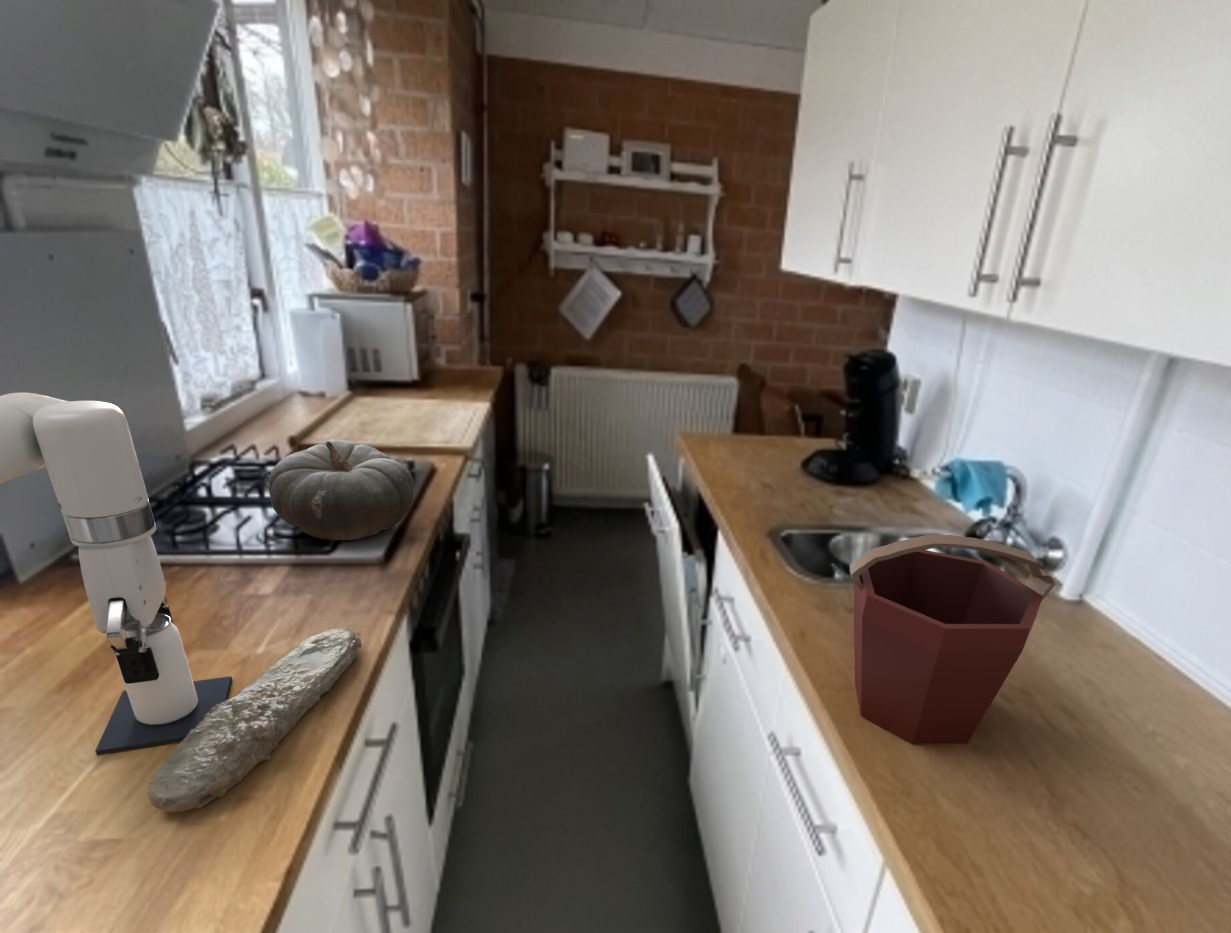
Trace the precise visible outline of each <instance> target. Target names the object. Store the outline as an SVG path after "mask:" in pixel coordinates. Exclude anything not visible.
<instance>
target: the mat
mask: <svg viewBox="0 0 1231 933" xmlns="http://www.w3.org/2000/svg"><path fill="white" fill-rule="evenodd" d="M232 677H233V676H231V675H229V676H222V677H214V678H208V679H207V678H206V679H200V680H193V683H194V687H195V691H196V694H197V698H198V703H197V706H196V707H195V709H194V710H193V711H192V712H191V713H190V714H189V715H187V716H186V717H184V718H182V719H180V720H178V721H176V722H173V723H169V724H165V725H147V724H144V723H142V722H139V721H138V720H137V719H136V717H135V714H134V712H133V709H132V706H131V703H130V700H129V697H128V694H127V691H126V690H122V692H121V694H120V696H119V698H118V700H117V703H116V704H115V707H114V709H113V711H112V713H111V716H110V718H109V720H108V722H107V725H106V726H105V729H104V730H103V733H102V735H101V738H100V740H99V742H98V744H97V746H96V749H95V750H94V751H95V755H96V756H99V755H105V754H111V753H112V754H113V753H119V752H125V751H131V750H137V749H143V748H148V747H156V746H162V745H168V744H174V743H180V742H181V741H182V740H183V739H184V738H185V737H186V736H187V734H189V732H190V730H191V729H194V728H195V727H196V726H197V725H198V724H199V722H201V721H202V720H203V717H204V716H205V715H206V714H207V713H208V712H209V711H210V710H211V708H212V707H214V706H216V705H217V704H220V703H222V702H223V701H225V700H227V699H229V695H230V690H231V686H232V682H233V678H232Z"/></svg>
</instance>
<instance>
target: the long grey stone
mask: <svg viewBox="0 0 1231 933" xmlns="http://www.w3.org/2000/svg"><path fill="white" fill-rule="evenodd" d="M359 648H363V644H362V640H361V638H359V637H356V632H354V631H352V630H350V629H349V628H348V627H343V628H339V627H336V628H330V629H328V630H326V631H323V632H320V633H317V634H314V635H312V636H309V637H307V638H306V639H304V640H302V641H301V642H300V643H298V645H297V646H296V647H295V648H294V649H293V650H291V651H289V653H287V654H285V656H282V657H281V658H280V659H278V660H277V661H276V662H274V663H273V664H272V665H270V666H269V667H268V668H267V669H266V670H265V672H263V673H262V674H261V675H260V676H259V677H257V678H256V679H254V680H253V681H252V682H250V683H249V684H247V686H245V687H243V688H241V689H240V690H238V692H236V694H235V695H234V696H233V697H231V698H228V699H227V700H225V701H223V702H222V703H220V704H217V705H216V706H214V707H212V708H211V710H210V711H209V712H208V713H207V714H206V715H205V716H204V717H203V720H202V721H201V722H199V724H198V725H197V726H196V727H195V728H194V729H191V730H190V732H189V734H187V736H186V737H185V738H184V739H183V740H182V741H181V742H179V744H178V745H177V746H176V747H175V749H174V750H173V749H172V751H171V752H170V753H168V755H166V756H165V761H164V762H163V763H162V765H161V766H160V767H159V768H158V769H157V771H156V772H155V774H154V776H153V777H152V778H151V780H150V781H149V783H148V784H149V786H148V793H147V796H148V798H149V801H150V802H151V805H152V806H153V807H155V808H156V809H157V810H161V811H164V812H168V813H176V812H185V811H188V810H192V809H200V808H203V806H204V805H207V804H209V802H211V801H213V800H214V799H215V798H217V797H218V798H221V797H223V796H224V795H226V793H227V791H228V790H230V789H231V788H232V787H233V786H235V785H236V784H237V783H239V782H241V781H242V780H243V779H244V778H245V777H246V776H247V775H248V773H249V772H250V771H252V770H253V769H254V767H255V766H256V765H258V763H262V762H266V761H269V760H271V752H273V751H274V750H275V749H277V748H278V746H279V745H278V744H279V742H280V741H281V740H282V739H283V738H285V736H287V734H288V733H290V732H291V730H292V729H294V728H295V726H297V724H298V723H299V720H301V718H302V716H303V715H305V713H306V712H307V711H308V710H309V709H311V708H312V707H313V706H314V705H316V703H318V702H319V701H321V696H322V695H323V694H324V693H327V692H329V691H330V690H331V688H332V686H333V685H334V684H335V683H336V681H337V680H339V678H340V676H341V675H342V674H343V673H344V672H346V670H347V669H348V668H349V667H350V666H351V665H352V663H353V662H354V661H353V660H354V659H357V653H358V651H359V650H358V649H359Z"/></svg>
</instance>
